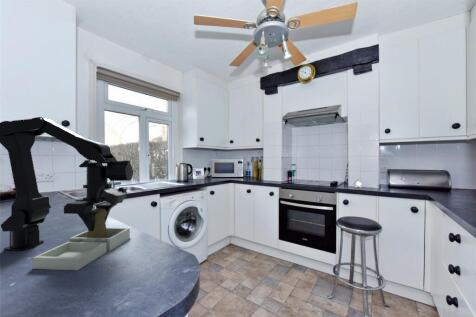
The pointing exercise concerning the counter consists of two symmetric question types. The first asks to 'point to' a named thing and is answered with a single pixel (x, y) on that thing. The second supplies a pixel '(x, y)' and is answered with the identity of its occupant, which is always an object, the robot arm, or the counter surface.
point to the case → (113, 240)
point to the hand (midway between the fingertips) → (97, 228)
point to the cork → (99, 225)
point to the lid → (70, 256)
